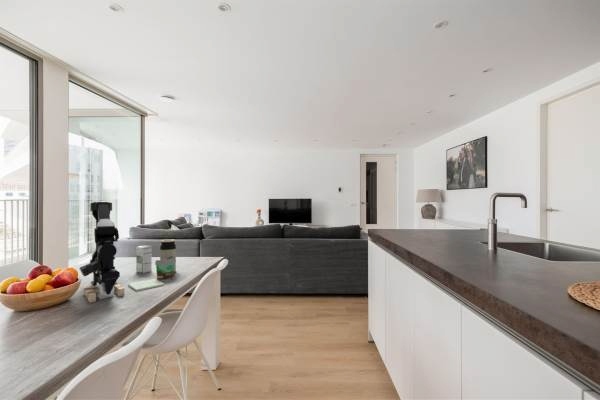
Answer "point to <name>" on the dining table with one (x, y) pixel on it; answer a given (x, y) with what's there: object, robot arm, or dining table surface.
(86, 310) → the dining table surface
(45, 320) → the dining table surface
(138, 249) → the syrup box
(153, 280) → the board
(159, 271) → the food container
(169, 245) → the travel mug
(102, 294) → the steel collar
